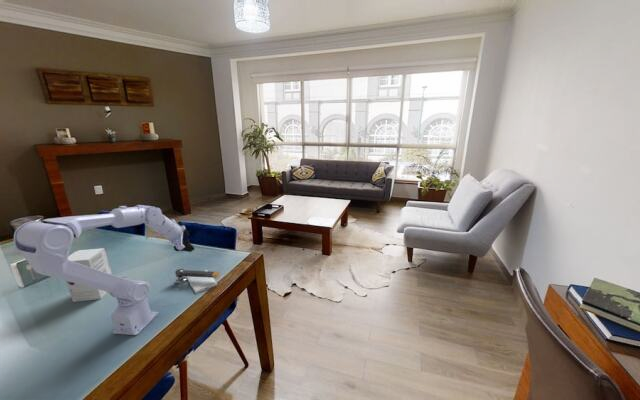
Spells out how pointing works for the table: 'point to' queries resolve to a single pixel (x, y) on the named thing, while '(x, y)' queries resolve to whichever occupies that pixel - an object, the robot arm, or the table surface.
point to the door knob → (181, 280)
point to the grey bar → (196, 273)
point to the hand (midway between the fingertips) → (189, 243)
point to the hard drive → (201, 283)
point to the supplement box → (93, 260)
